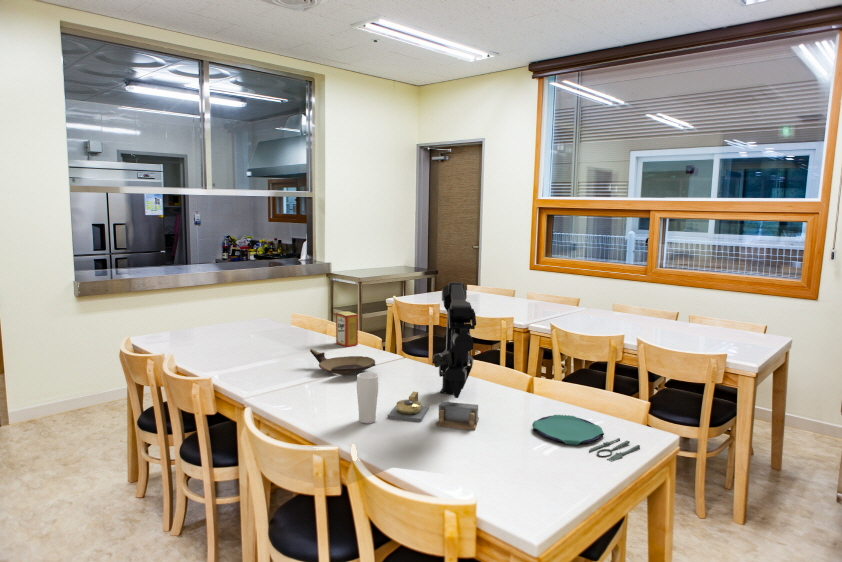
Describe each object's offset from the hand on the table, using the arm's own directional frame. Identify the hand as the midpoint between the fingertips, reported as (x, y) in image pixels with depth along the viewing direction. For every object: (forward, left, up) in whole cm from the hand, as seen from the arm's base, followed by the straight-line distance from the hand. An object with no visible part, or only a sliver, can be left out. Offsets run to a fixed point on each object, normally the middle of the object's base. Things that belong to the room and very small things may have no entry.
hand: (458, 393), depth 175 cm
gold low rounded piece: (-6, -17, -8) cm, 20 cm away
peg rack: (0, 0, -10) cm, 10 cm away
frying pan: (-43, -55, -10) cm, 70 cm away
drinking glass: (+6, -28, -10) cm, 30 cm away
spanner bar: (0, 0, -9) cm, 9 cm away
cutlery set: (+2, +37, -10) cm, 39 cm away
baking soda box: (-86, -70, -10) cm, 111 cm away
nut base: (-3, -17, -10) cm, 20 cm away
